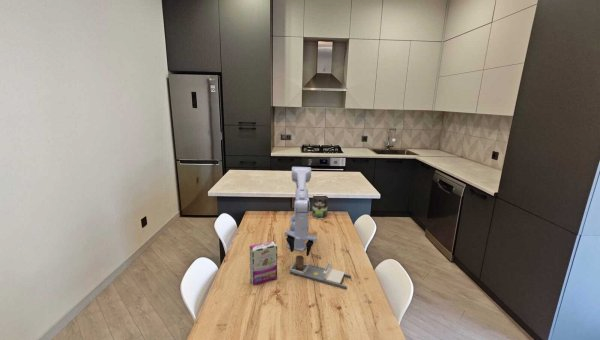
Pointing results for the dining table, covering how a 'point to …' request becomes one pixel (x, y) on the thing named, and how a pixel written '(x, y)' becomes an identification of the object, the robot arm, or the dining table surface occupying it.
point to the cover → (332, 275)
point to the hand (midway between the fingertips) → (300, 253)
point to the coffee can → (320, 207)
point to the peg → (299, 263)
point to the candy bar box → (263, 262)
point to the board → (314, 274)
